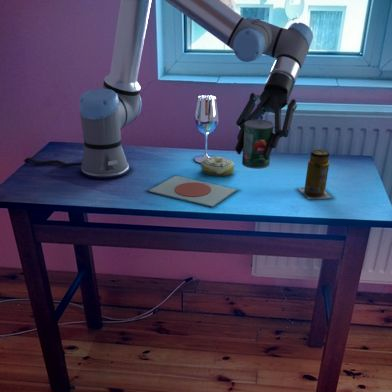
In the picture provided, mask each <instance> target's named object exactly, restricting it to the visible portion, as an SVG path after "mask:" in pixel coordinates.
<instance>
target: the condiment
mask: <svg viewBox="0 0 392 392" xmlns="http://www.w3.org/2000/svg"><path fill="white" fill-rule="evenodd" d="M329 159H330V152H329V151H328V150H325V149H314V150H312V151H311V152H310V156H309V159H308V162H307V167H306V174H305V181H304V188H298V190H299V191H300V193H302V195H303V196H305V198H306V199H307V200H323V199H332V196H331V195H330V194H328V193H327V192H326V187H327V181H328V173H329V168H330V162H329Z"/></svg>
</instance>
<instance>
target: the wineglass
mask: <svg viewBox="0 0 392 392" xmlns="http://www.w3.org/2000/svg"><path fill="white" fill-rule="evenodd" d="M194 113H195V114H194V125H195V128H196V130H197V131H198V132H199V133H201V134H203V135H204V155H199V156H196V157H195V158H194V161H195V162H196V163H199V164H201V161H202V160H204V159H206V158H209V157H213V156H212V155H209V154H208V137H209V135H210V134H212V133H213V132H214V131H216V129H217V128H218V126H219V110H218V103H217V98H216V96H215V95H209V94H206V95H205V94H204V95H199V96H198V98H197V102H196V106H195V112H194Z"/></svg>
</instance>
